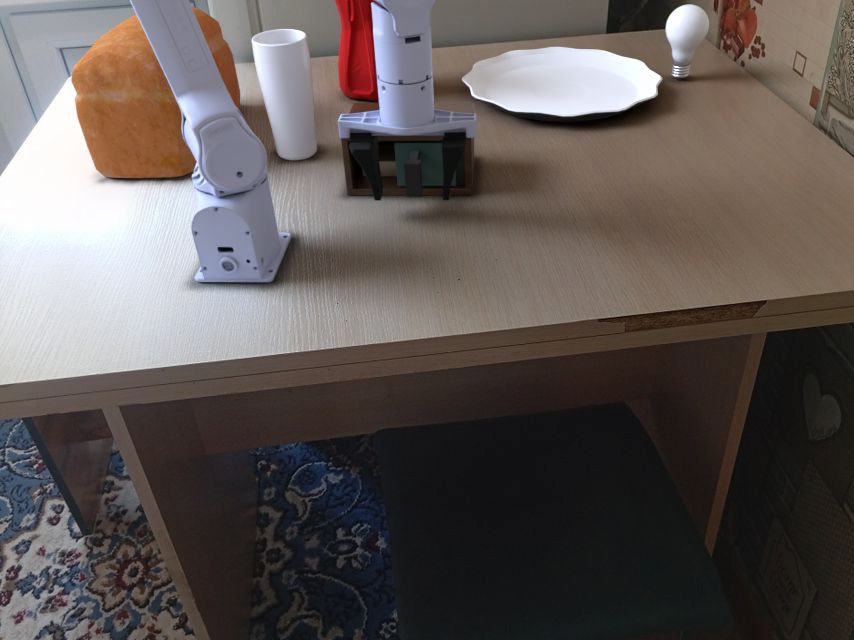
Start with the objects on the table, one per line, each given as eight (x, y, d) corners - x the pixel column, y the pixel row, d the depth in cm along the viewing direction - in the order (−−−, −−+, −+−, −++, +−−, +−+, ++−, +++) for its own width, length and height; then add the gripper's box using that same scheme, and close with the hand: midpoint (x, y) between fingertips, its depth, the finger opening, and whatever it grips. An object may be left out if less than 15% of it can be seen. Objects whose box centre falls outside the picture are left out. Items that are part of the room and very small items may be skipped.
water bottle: (329, 103, 118) (305, -84, 103) (359, 79, 126) (341, -98, 111) (385, 109, 116) (369, -81, 100) (412, 84, 124) (401, -96, 109)
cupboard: (472, 195, 94) (471, 134, 89) (347, 195, 94) (339, 134, 90) (474, 159, 101) (473, 102, 97) (359, 160, 102) (353, 102, 97)
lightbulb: (651, 74, 125) (660, 1, 119) (686, 70, 127) (698, -3, 120) (671, 88, 121) (682, 12, 114) (707, 82, 122) (720, 8, 115)
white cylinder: (312, 166, 101) (295, 46, 92) (263, 162, 102) (241, 44, 93) (330, 144, 106) (315, 29, 97) (283, 141, 107) (263, 27, 98)
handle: (454, 203, 90) (453, 159, 86) (393, 203, 90) (389, 159, 87) (456, 183, 94) (455, 140, 90) (398, 183, 94) (394, 140, 91)
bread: (248, 103, 119) (227, -8, 109) (197, 180, 98) (165, 51, 88) (158, 104, 119) (129, -7, 110) (89, 181, 99) (45, 52, 89)
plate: (438, 119, 112) (438, 103, 111) (493, 55, 134) (493, 41, 133) (646, 140, 105) (648, 123, 104) (668, 69, 127) (670, 54, 126)
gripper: (476, 62, 83) (477, 180, 91) (340, 63, 83) (353, 180, 92) (475, 85, 77) (476, 209, 86) (329, 86, 78) (344, 209, 86)
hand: (412, 196), depth 88 cm, fingers open, 7 cm apart
